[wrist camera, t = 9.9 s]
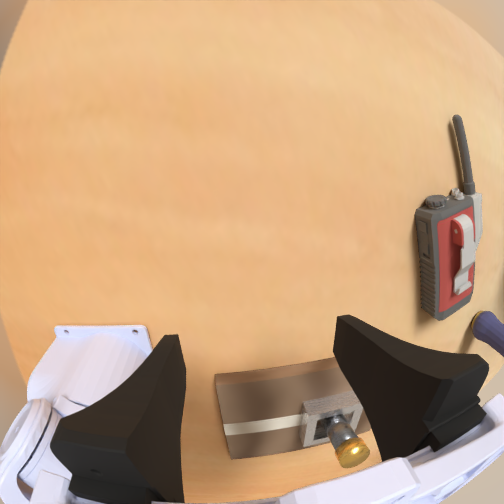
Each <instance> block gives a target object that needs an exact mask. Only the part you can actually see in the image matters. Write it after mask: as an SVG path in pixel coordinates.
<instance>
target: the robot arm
mask: <svg viewBox="0 0 504 504" xmlns="http://www.w3.org/2000/svg"><path fill="white" fill-rule="evenodd" d="M66 330H67V331H68V332H67V331H66ZM134 330H137V331H138V332H135V331H134ZM54 331H55V334H56V337H57V338H56V339H55V340H54V342H53V343H52V344H51V346H50V347H49V349H48V350H47V351H46V353H45V354H44V356H43V357H42V359H41V360H40V361H39V363H38V364H37V366H36V367H35V369H34V370H33V372H32V374H31V376H30V378H29V382H28V387H27V400H28V403H27V404H26V405H25V406H24V407H23V409H22V410H21V411H20V412H19V414H18V415H17V417H16V418H15V420H14V421H13V423H12V425H11V426H10V428H9V430H8V432H7V434H6V436H5V438H4V440H3V443H2V445H1V448H0V497H1V499H2V501H3V502H4V503H5V504H438V503H440V502H441V501H443V500H444V499H446V498H447V497H449V496H450V495H452V494H453V493H455V492H456V491H457V490H459V489H460V488H461V487H462V486H464V485H465V484H467V483H468V482H469V481H471V480H472V479H473V478H474V477H476V476H477V475H478V474H479V473H481V472H482V471H483V470H484V469H485V468H486V467H488V466H489V465H490V464H491V463H492V462H493V461H495V460H496V459H497V458H498V457H499V456H500V455H501V454H502V453H503V452H504V397H503V396H502V395H501V394H500V393H499V394H497V395H496V396H494V397H493V398H492V399H490V400H489V401H488V402H487V403H485V405H484V406H483V407H480V405H479V404H478V403H479V402H480V398H479V397H478V396H477V394H478V392H479V390H480V389H481V387H482V385H483V383H484V381H485V379H486V377H487V375H488V371H489V364H488V363H487V362H486V361H485V360H484V359H483V358H482V357H480V356H479V355H478V354H457V353H449V352H442V351H436V350H432V349H428V348H424V347H420V346H417V345H414V344H411V343H408V342H405V341H403V340H400V339H398V338H396V337H393V336H391V335H389V334H387V333H385V332H383V331H381V330H379V329H377V328H375V327H373V326H371V325H369V324H367V323H365V322H363V321H362V320H360V319H358V318H356V317H354V316H351V315H343V316H337V322H336V331H335V339H334V346H333V353H334V355H335V358H336V360H337V363H338V365H339V367H340V369H341V371H342V373H343V374H344V376H345V378H346V379H347V381H348V383H349V384H350V386H351V388H352V389H353V391H354V393H355V394H356V396H357V398H358V399H359V401H360V403H361V405H362V407H363V409H364V411H365V414H366V416H367V418H368V421H369V423H370V426H371V428H372V431H373V434H374V436H375V439H376V442H377V445H378V448H379V451H380V455H381V459H382V462H381V463H379V464H376V465H374V466H371V467H368V468H365V469H363V470H360V471H357V472H354V473H351V474H348V475H344V476H341V477H338V478H334V479H331V480H327V481H323V482H320V483H315V484H311V485H308V486H305V487H302V488H298V489H295V490H293V491H291V492H289V493H286V494H284V495H282V496H280V497H274V498H267V499H259V500H251V501H241V502H227V503H185V502H184V493H183V484H182V471H181V445H180V434H181V422H182V415H183V407H184V399H185V392H186V367H185V363H184V359H183V354H182V350H181V345H180V341H179V336H178V334H177V335H164V337H163V338H162V339H161V340H160V342H159V343H158V344H157V345H156V347H155V348H154V349H153V348H152V345H151V341H150V338H149V334H148V330H147V328H146V327H145V326H143V325H117V326H63V325H57V326H56V327H55V328H54Z"/></svg>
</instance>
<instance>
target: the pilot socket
mask: <svg viewBox="0 0 504 504" xmlns="http://www.w3.org/2000/svg"><path fill="white" fill-rule="evenodd" d="M362 410H363V407H362V405H361V403H360V401H359V399H358V398H357V396H356V394H355V393H354V391H353V390H352V391H348V392H344V393H340V394H336V395H332V396H328V397H324V398H319V399H314V400H310V401H305V402H303V406H302V417H301V425H300V430H299V435H300V438H301V441H302V444H303V447H306V446H310V445H315V444H319V443H323V442H327V441H330V439H329V437H328V435H327V434H326V432H325V430H324V428H323V426H322V424H321V425H317V420H319V419H324V418H328V417H332V416H336V415H340V414H343V413H344V417H345V418H346V420H347V421H348V423H349V424H350V426H351V427H352V429H353V430H354V432H355V430H356V427H357V424H358V422H359V419H360V416H361V413H362ZM316 425H317V426H316Z"/></svg>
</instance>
